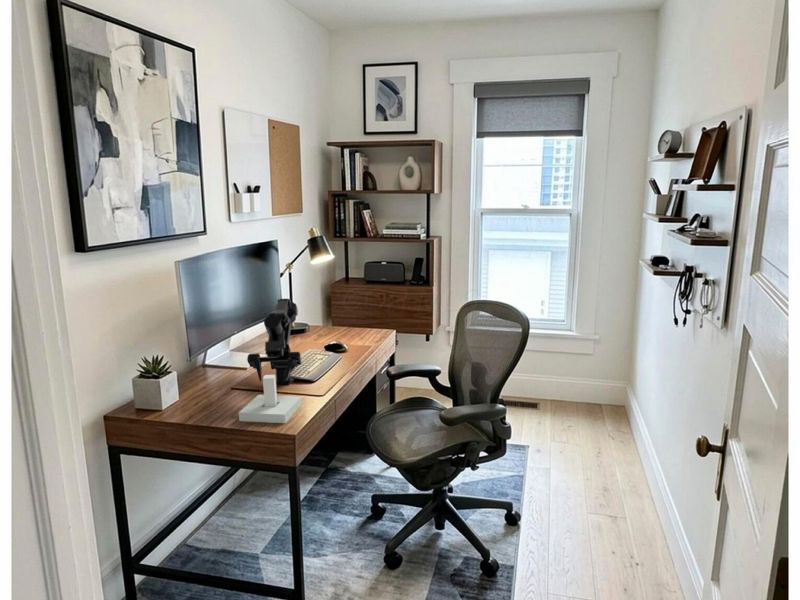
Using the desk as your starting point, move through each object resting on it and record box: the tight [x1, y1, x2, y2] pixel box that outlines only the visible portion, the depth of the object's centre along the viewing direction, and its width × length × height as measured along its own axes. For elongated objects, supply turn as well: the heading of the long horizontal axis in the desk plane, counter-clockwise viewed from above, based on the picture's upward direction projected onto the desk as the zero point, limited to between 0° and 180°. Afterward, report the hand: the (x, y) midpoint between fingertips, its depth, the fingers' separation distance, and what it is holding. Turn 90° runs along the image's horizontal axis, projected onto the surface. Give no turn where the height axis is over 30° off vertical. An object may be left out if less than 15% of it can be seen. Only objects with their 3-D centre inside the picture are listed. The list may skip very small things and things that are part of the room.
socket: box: [238, 394, 302, 424], centre depth 183 cm, size 16×16×3 cm
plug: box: [262, 374, 278, 407], centre depth 182 cm, size 4×4×13 cm
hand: (273, 380), depth 190 cm, fingers open, 9 cm apart
